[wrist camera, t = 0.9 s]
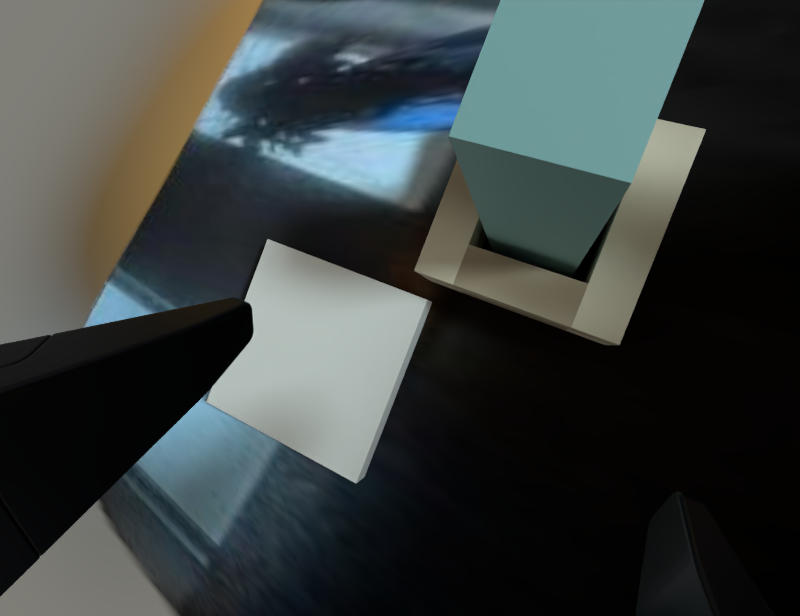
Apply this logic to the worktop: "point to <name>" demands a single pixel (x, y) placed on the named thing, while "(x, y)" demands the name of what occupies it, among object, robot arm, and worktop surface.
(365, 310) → the pad
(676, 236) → the worktop surface
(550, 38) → the post
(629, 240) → the socket block
